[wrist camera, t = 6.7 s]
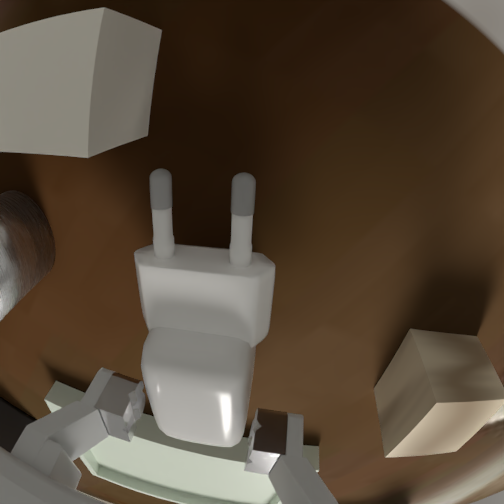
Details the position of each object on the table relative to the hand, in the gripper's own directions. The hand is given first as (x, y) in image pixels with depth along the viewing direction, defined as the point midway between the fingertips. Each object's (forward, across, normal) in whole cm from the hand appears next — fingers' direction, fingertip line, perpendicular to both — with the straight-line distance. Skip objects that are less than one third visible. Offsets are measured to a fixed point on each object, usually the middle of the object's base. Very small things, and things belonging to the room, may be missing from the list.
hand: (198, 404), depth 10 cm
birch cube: (+5, -11, +1) cm, 12 cm away
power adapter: (+5, 0, -2) cm, 5 cm away
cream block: (+5, +6, -9) cm, 12 cm away
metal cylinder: (+5, +11, -2) cm, 12 cm away
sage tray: (+5, +2, +18) cm, 19 cm away
